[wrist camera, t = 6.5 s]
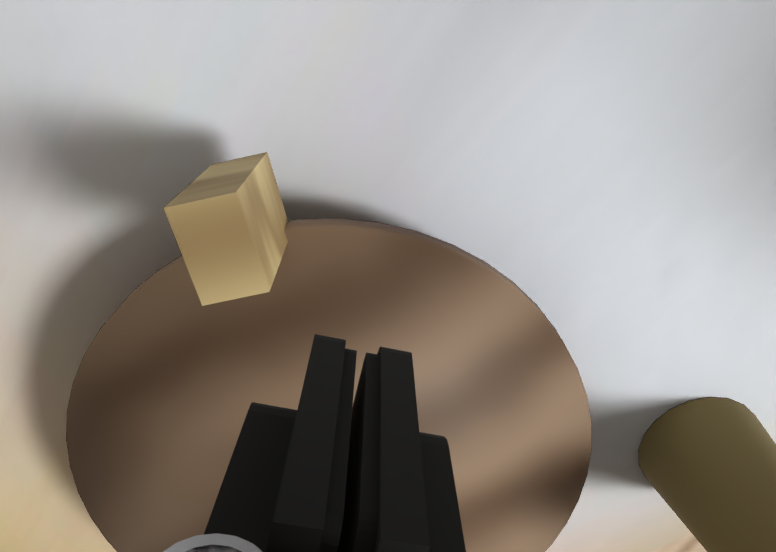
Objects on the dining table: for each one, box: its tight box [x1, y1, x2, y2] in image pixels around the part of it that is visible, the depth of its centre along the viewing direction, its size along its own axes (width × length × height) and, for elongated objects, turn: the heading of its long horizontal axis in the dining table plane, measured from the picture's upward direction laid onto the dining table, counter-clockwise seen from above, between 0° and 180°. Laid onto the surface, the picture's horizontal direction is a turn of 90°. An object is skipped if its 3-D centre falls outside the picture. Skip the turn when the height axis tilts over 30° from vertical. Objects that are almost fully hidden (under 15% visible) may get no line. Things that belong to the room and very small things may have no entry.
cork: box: [638, 397, 776, 552], centre depth 23 cm, size 6×6×11 cm
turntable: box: [66, 152, 591, 552], centre depth 22 cm, size 23×22×5 cm
